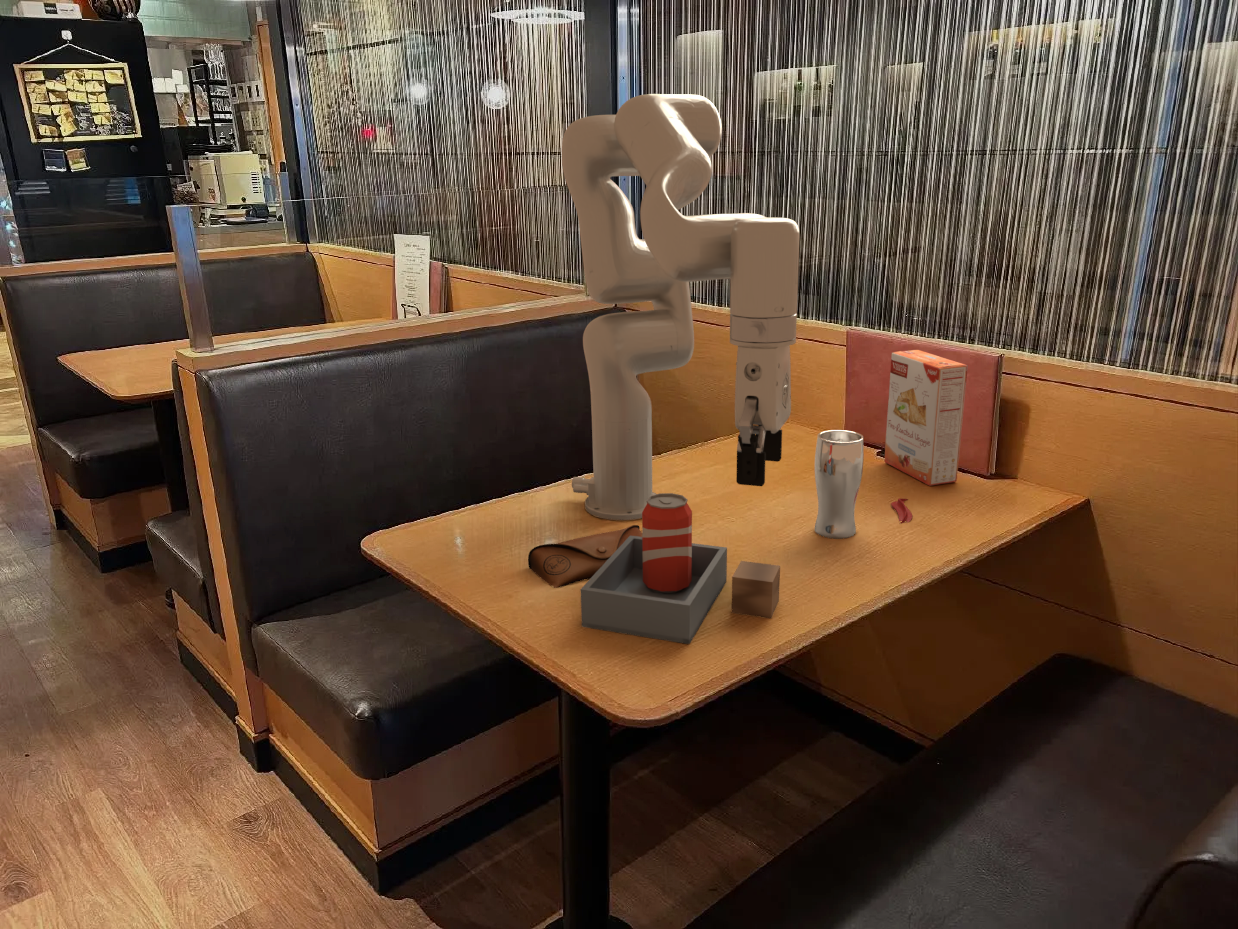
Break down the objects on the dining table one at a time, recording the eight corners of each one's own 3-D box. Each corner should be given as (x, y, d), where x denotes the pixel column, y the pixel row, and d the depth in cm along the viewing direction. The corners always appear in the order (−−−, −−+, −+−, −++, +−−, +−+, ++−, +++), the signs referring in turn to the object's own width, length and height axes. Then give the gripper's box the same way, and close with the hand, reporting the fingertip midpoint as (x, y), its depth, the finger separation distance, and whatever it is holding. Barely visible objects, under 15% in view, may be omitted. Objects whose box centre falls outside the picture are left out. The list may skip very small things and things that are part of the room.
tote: (581, 626, 112) (580, 589, 110) (630, 568, 128) (630, 535, 126) (689, 644, 107) (689, 605, 106) (726, 582, 123) (727, 547, 121)
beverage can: (679, 572, 125) (679, 489, 121) (698, 592, 119) (699, 505, 115) (637, 579, 123) (635, 495, 119) (654, 599, 117) (653, 511, 113)
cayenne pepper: (896, 499, 153) (897, 488, 152) (925, 504, 150) (926, 493, 150) (876, 523, 143) (877, 512, 142) (906, 528, 141) (907, 517, 140)
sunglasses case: (553, 590, 122) (540, 541, 123) (535, 597, 128) (523, 551, 129) (668, 561, 130) (655, 515, 131) (647, 569, 136) (635, 525, 137)
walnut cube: (731, 613, 115) (732, 576, 113) (740, 596, 119) (741, 560, 118) (771, 619, 113) (772, 582, 112) (778, 601, 118) (780, 565, 116)
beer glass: (859, 541, 135) (866, 443, 130) (811, 538, 136) (815, 441, 132) (857, 524, 141) (863, 430, 137) (811, 521, 143) (816, 428, 138)
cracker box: (881, 463, 169) (889, 351, 163) (910, 459, 171) (919, 348, 165) (927, 487, 157) (938, 366, 150) (957, 483, 158) (969, 363, 152)
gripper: (780, 344, 96) (776, 498, 101) (808, 319, 112) (803, 454, 117) (711, 341, 99) (710, 492, 104) (747, 317, 114) (745, 449, 119)
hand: (759, 471), depth 110 cm, fingers open, 9 cm apart
